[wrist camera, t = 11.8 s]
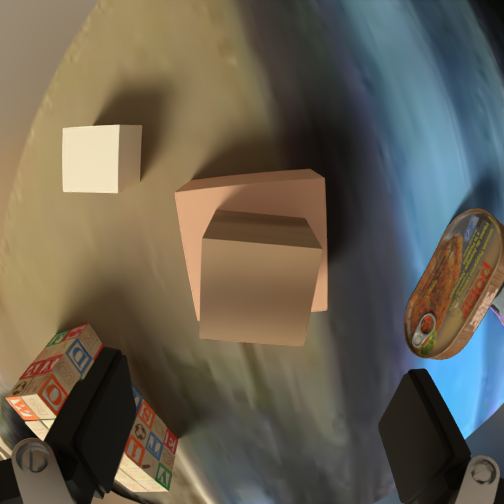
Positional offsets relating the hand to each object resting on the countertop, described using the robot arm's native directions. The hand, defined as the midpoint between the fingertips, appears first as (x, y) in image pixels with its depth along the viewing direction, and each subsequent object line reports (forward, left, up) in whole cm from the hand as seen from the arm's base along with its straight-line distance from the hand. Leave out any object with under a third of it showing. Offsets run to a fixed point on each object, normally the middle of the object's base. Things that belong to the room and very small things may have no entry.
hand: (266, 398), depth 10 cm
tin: (+2, +19, -20) cm, 27 cm away
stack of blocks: (+23, -15, -20) cm, 34 cm away
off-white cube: (-6, -13, -19) cm, 24 cm away
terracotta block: (0, 0, -20) cm, 20 cm away
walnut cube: (0, 0, -14) cm, 14 cm away
